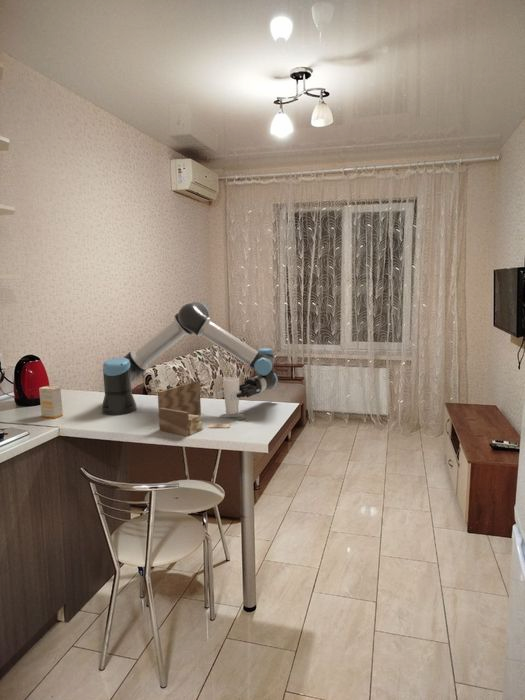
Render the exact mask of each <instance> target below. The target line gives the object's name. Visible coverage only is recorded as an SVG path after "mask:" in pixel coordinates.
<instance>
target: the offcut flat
mask: <svg viewBox="0 0 525 700" xmlns="http://www.w3.org/2000/svg"><path fill="white" fill-rule="evenodd" d="M230 428H231V424H230V423H218V424H217V423H211V424H209V426H208V429H230Z"/></svg>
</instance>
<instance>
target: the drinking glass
mask: <svg viewBox="0 0 525 700" xmlns="http://www.w3.org/2000/svg"><path fill="white" fill-rule="evenodd" d="M222 382H223V383H222V385H223V386H222V388H224V397H223V398H224V402H225V403H224V405H225V414H229V415H234V414H237V413H239V403H240V398H238V399H235V400H233V401H231V394H232V393H235V392H238V391H239V388H240V385H241V384H240V378H239V377H235V376H230V377H229V376H228V377H224V378H223V381H222Z"/></svg>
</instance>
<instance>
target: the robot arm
mask: <svg viewBox="0 0 525 700" xmlns="http://www.w3.org/2000/svg"><path fill="white" fill-rule="evenodd" d="M192 334H194V335H196V336H198V337H201V336H202V337H204V338H205V339H206V340H207V341H210V342H211V343H212V344H214V345H215V346H217V347H219V348H220V349H222V350H223V351H225V352H226V353H228V354H230V355H231V356H233V357H235V359H238V360H239V361H240V362H242V363H243V364H246V365H247V366H249V367H250V368H251V369H253V370H254V371H255V373H256V374H257V375H256V376H253V377H251V378H248V379H246V380H244V382H243V383H241V384H239V385H240V388H239V391H238V392H235V393H232V394H231V401H233V400H235V399H238V398H239V399H240V398H245V397H246V398H250V397H252V396H255V395H258V394H260V393H263V392H264V391H268V390H271V389H273V388H275V387H276V386H277V385H278V384H279V383H278V381H279V377H278V376H277V374H276V373H275V370H274V367H275V366H274V359H275V358H274V356H275V355H274V354H275V353H274V349H273V348H268V347H266V348H265V347H263V348H258V350H256V349H254V348H253V347H252V346H250V345H248V344H247V343H245V342H244V341H242V340H240V339H239V338H238V337H236V336H234V335H233V334H231V332H228V331H227V330H225V329H223V327H221V326H219V325H218V324H217V323H214V322H213V321H212V320H211V317H210V312H209V310H208V307H207V306H206V305H205V304H203V303H202V302H198V301H194V302H190V303H186V304H185V305H183V306H181V308H180V309H179V311H178V313H176V314H175V315H173V321H172V322H170V323H169V324H168V325H166V326H165V327H164V328H162V329H161V330H160V331H158V333H157V334H155V335H154V336H153V337H152V338H151V339H149V340H148V341H147V342H146V343H145V344H143V345H142V346H141V347H139V348H138V349H137V350H131V351H129V352H128V353H127V354H126V355H124V356H123V357H114V358H109V359H107V360H105V361H104V362H103V364H102V375H103V387H104V397H103V400H102V404H101V413H102V414H104V415H109V414H110V416H111V415H112V416H114V415H115V416H116V414H118V415H124V413H126V414H129V412H130V413H133V412H135V411H136V410H137V404H136V401H135V398H134V396H133V394H132V382H133V381H135V380H137V379H139V378H140V377H141V375H143V374H144V373H145V372H146V371H147V370H148V369H149V365H150V364H151V363H152V362H153V361H155V360H156V359H158V357H160V356H161V355H162V354H164V353H165V352H166V351H167V350H168V349H170V348H171V347H172V346H173V345H174V344H176V343H177V342H178V341H180V340H181V339H182V338H183V337H184V336H187V335H188V336H191V335H192ZM221 398H225V397H224V388H223V387H222V388H221V390H219V391H216V399H218V400H219V399H221ZM134 410H135V411H134ZM132 411H133V412H132Z"/></svg>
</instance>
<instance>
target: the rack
mask: <svg viewBox="0 0 525 700" xmlns="http://www.w3.org/2000/svg"><path fill="white" fill-rule="evenodd" d="M200 403H201V385H200V380H196V381H192V382H188V383H186V384H183V385H179V386H175V387H172V388H168V389H164V390H161V391H157V406H158V422H159V423H158V424H159V425H158V426H159V431H160V432H164V433H168V434H173V435H178V436H184V437H188V436H190V435H189V418H188V414H190V415H199V416H202V415H201V413H202V406H201V405H200ZM203 430H204V428H202V430H201V431H203Z"/></svg>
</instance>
